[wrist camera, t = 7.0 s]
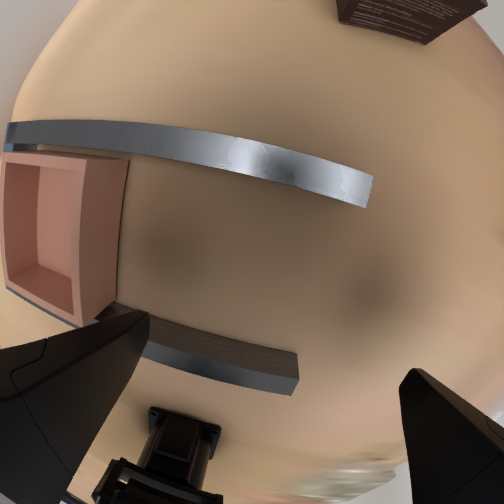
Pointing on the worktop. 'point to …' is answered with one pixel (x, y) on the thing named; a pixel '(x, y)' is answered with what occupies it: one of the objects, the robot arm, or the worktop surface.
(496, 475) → the robot arm
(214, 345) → the crate bay
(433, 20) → the box
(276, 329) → the worktop surface
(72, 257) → the crate
